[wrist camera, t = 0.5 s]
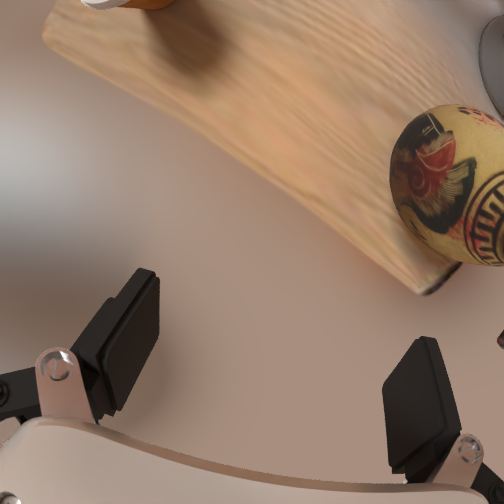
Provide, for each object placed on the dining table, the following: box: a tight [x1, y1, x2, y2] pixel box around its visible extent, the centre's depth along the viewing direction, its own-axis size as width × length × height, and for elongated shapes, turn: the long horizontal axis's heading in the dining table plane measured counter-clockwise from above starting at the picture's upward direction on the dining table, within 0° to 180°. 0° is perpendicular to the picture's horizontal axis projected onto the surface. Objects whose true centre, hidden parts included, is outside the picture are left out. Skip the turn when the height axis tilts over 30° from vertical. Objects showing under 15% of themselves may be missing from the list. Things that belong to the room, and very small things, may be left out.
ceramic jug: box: [390, 97, 504, 349], centre depth 21 cm, size 17×15×30 cm
